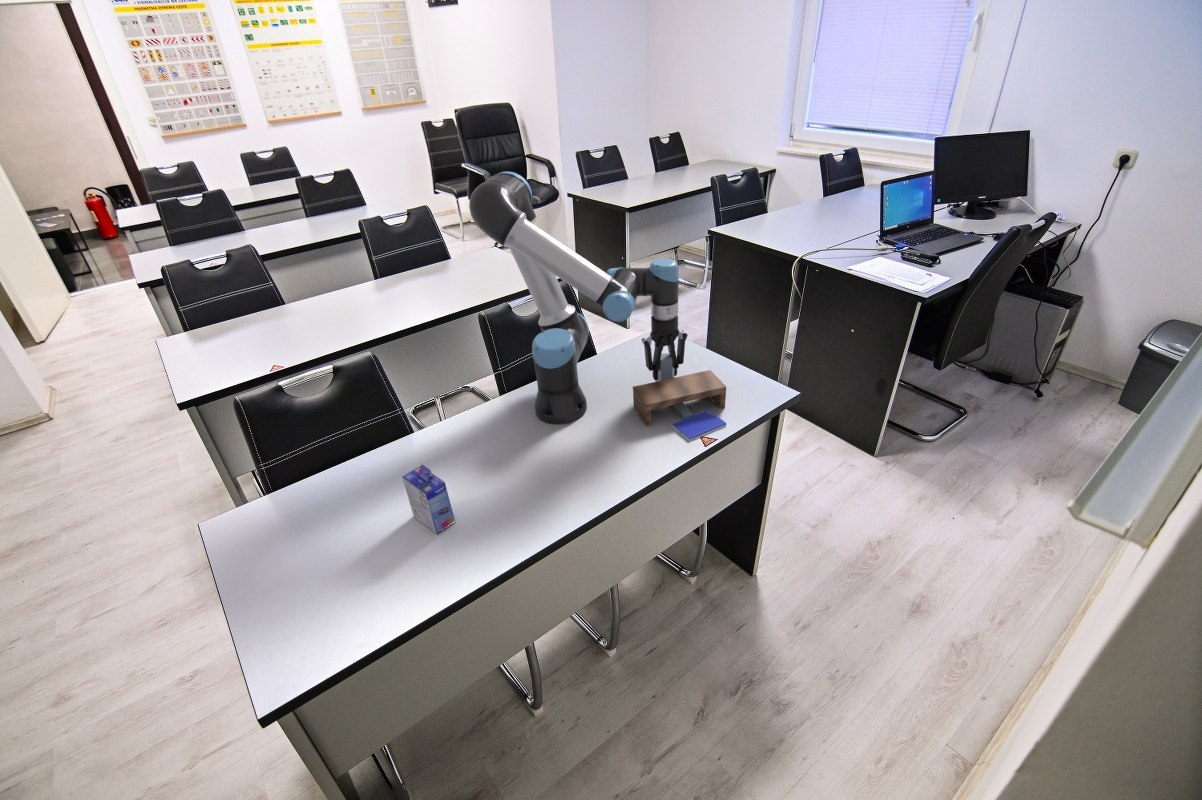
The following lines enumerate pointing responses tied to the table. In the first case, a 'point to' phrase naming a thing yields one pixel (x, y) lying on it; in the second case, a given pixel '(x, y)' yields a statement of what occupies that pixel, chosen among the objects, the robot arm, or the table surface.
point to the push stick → (667, 374)
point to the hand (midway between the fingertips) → (664, 386)
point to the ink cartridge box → (428, 498)
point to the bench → (677, 392)
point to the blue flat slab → (698, 425)
